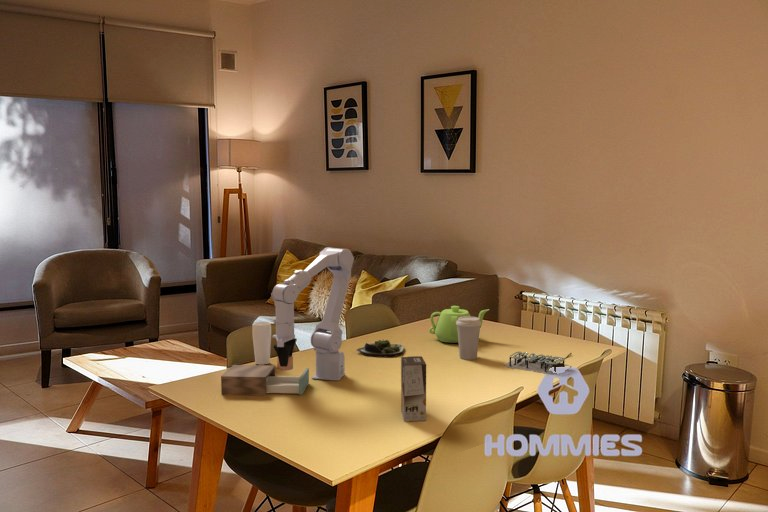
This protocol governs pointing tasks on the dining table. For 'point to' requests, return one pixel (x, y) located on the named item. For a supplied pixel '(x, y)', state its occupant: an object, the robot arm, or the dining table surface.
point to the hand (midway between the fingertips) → (285, 363)
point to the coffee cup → (468, 337)
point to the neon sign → (535, 362)
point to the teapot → (450, 323)
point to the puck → (289, 366)
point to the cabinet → (246, 379)
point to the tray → (287, 383)
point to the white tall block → (261, 342)
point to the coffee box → (413, 388)
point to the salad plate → (381, 349)
